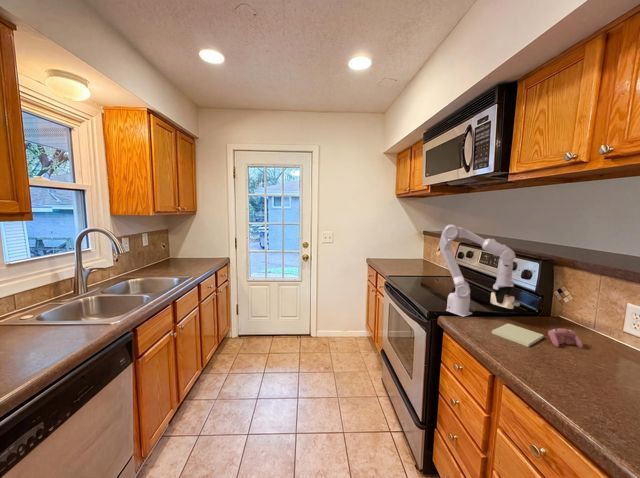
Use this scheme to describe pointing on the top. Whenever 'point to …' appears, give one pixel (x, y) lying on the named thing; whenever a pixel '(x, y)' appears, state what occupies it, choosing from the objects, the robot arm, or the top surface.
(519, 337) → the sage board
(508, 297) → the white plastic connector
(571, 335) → the pink toy car
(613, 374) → the top surface
